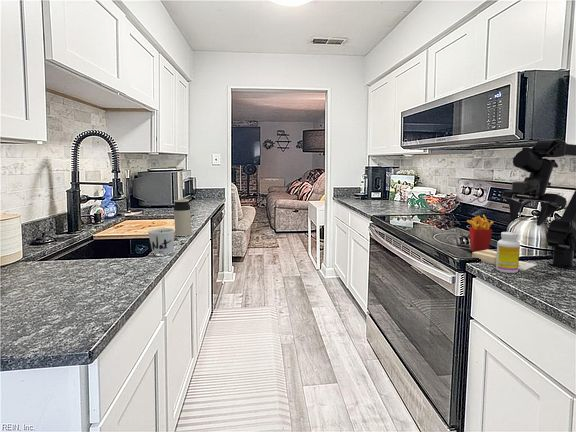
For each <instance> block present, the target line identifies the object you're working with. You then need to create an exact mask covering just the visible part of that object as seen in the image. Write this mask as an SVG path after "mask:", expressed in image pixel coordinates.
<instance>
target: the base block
mask: <svg viewBox="0 0 576 432" xmlns="http://www.w3.org/2000/svg"><path fill="white" fill-rule="evenodd" d="M471 253H472V254H471V258H472V257H476V258H479V259H481V261H480V262H483V263H487V264H491V265H496V256H497V250H493V249H489V250H488V249H487V250H482V251H477V252H471Z"/></svg>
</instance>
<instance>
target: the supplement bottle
mask: <svg viewBox="0 0 576 432" xmlns="http://www.w3.org/2000/svg"><path fill="white" fill-rule="evenodd" d="M500 237H501V239H499V240H498V241H497V242H496V243H497V244H496V251H497V256H496V264H495V269H496V270H497V271H498V272H500V273H505V274H515V273H518V272H519V269H518V266H519V261H520V248H521V244H520V242H519V241H518V240H517V238H518V233H516V232H512V231H502V232H501V234H500Z"/></svg>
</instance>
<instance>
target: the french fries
mask: <svg viewBox="0 0 576 432" xmlns="http://www.w3.org/2000/svg"><path fill="white" fill-rule="evenodd" d="M482 217H483V218H482ZM482 217H481V215H477V216H474V217H472V218H471V219H470V220H469V219H467V220H466V223H468V224H470V225H471V226H469V228H468V229H469V231H468V232H469V243H470V245H469V247H470V252H471V251H473V252H477V251H482V250H487V249H488V250H490V245H491V241H492V235H493V229H492V228H491V226H492V225H493V224H494V221H493V220H492V221H490V222H489V220H488V219H487V216H485V214H483V215H482Z"/></svg>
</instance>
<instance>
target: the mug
mask: <svg viewBox="0 0 576 432" xmlns="http://www.w3.org/2000/svg"><path fill="white" fill-rule="evenodd" d="M147 234H148V237H149V238H148V239H149V243H150V247H151V250H152V253H153V252H154V253H170V252H173V253H174V244H175V228H156V229H155V228H154V229H150V230H148V231H147Z"/></svg>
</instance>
